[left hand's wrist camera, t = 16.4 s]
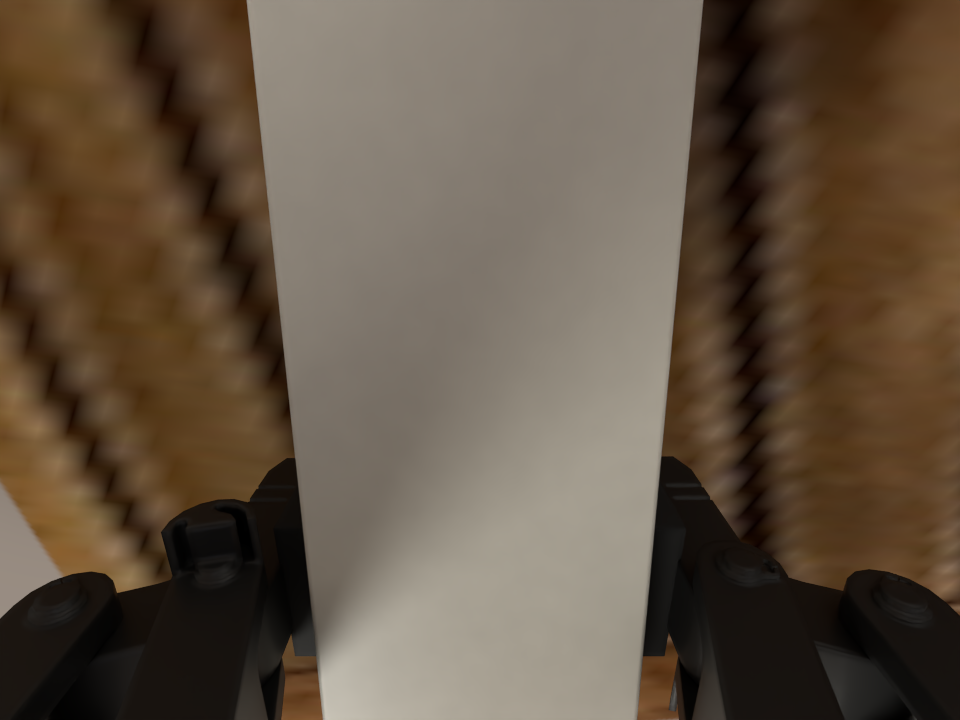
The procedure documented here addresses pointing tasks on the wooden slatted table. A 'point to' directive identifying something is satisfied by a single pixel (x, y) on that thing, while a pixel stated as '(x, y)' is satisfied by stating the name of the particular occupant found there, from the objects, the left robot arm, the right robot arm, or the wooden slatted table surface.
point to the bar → (477, 337)
